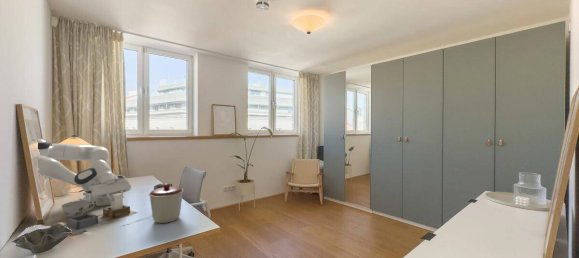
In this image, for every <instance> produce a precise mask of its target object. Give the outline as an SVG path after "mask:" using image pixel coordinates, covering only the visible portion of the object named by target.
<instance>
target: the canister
mask: <svg viewBox="0 0 579 258" xmlns="http://www.w3.org/2000/svg"><path fill="white" fill-rule="evenodd" d="M163 184H164V185H163V187H162V188H158V189H155V190H154V189H153V190H152V191H150V192H149V193H148V196H149V200H150V206H151V207H150V208H151V213H152V218H153V221H154V222H155V223H157V224H169V223H173V222H175V221H176V220H178V218H179V217H180V214H181V208H182V202H183V201H182V199H183V193H184V192H185V191H184V189H183V188H181V187H180V186H172V187H170V184H171V183H163Z"/></svg>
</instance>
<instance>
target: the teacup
mask: <svg viewBox="0 0 579 258" xmlns="http://www.w3.org/2000/svg"><path fill="white" fill-rule="evenodd" d="M90 205H92V206H91V207H90ZM89 207H90V208H89ZM93 208H95V202H89V201H85V200H81V199H79V200H73V201H69V202H67V203H63V204H62V205H61V209H62V212H63V214H64V215H65V216H67V217H68V218H71V217H75V216H79V215H82V214H86V213H87V212H88V211H90V210H92V209H93Z"/></svg>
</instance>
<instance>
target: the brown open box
mask: <svg viewBox="0 0 579 258" xmlns="http://www.w3.org/2000/svg"><path fill="white" fill-rule="evenodd" d="M135 214H139V212H138V211H133V210H131V206H129V205H126V204H123V208H121V209H118V210H111V206H109V207H105V208H102V213H99V214H97V215H96V216H98V219H99V218H100V219H102V220H106V221H108V222H114V221H117V220H120V219H124V218H127V217H130V216H132V215H133V216H134V215H135Z"/></svg>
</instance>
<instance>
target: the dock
mask: <svg viewBox="0 0 579 258" xmlns="http://www.w3.org/2000/svg"><path fill="white" fill-rule="evenodd" d="M104 224H108V222H106V221H104V220H101V219H99V217H98V216H96V215H95V214H92V213H89V212H85V213H84V214H82V215H79V216H75V217H68V218H66V224H63V225H64V226H66V227H68V228H69V229H71V230H72V236H76V235H75V234H77V235H79V234H78V233H80V234H83V233H85V232H87V231H88V230H89V229H92V228H95V227H99V226H102V225H104Z"/></svg>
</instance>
